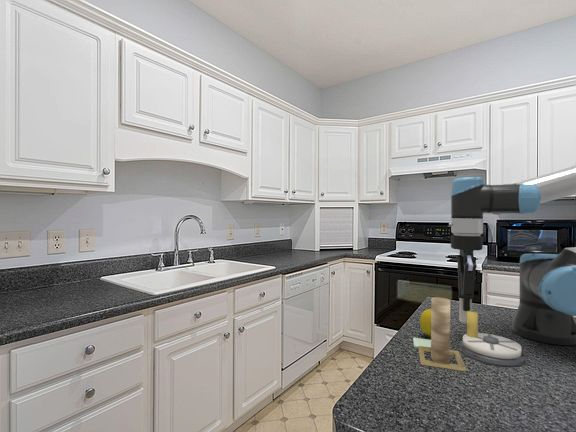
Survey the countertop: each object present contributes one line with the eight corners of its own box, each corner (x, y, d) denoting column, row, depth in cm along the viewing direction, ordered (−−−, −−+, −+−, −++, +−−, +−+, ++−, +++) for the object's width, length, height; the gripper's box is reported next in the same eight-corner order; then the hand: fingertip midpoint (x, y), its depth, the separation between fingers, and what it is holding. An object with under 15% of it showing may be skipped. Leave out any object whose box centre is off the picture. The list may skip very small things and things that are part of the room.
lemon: (423, 332, 91) (423, 304, 91) (443, 336, 88) (444, 308, 88) (416, 337, 87) (417, 308, 87) (438, 342, 84) (438, 312, 84)
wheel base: (513, 347, 81) (513, 342, 81) (533, 370, 69) (533, 365, 69) (456, 340, 85) (456, 336, 85) (466, 361, 73) (466, 356, 73)
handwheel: (531, 351, 75) (531, 320, 75) (505, 363, 69) (505, 329, 69) (479, 335, 85) (479, 307, 85) (452, 344, 79) (452, 314, 79)
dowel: (448, 357, 75) (448, 298, 75) (451, 364, 71) (451, 302, 71) (430, 354, 76) (430, 296, 77) (431, 361, 73) (432, 300, 73)
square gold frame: (458, 354, 77) (458, 351, 77) (466, 371, 68) (466, 367, 68) (418, 348, 80) (418, 345, 80) (420, 364, 71) (420, 361, 71)
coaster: (437, 342, 84) (437, 340, 84) (440, 351, 78) (440, 349, 78) (413, 339, 86) (413, 337, 86) (414, 347, 80) (414, 346, 80)
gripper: (447, 233, 93) (446, 313, 93) (454, 235, 81) (453, 327, 81) (477, 234, 91) (475, 316, 91) (488, 236, 78) (487, 331, 78)
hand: (465, 321), depth 86 cm, fingers closed
